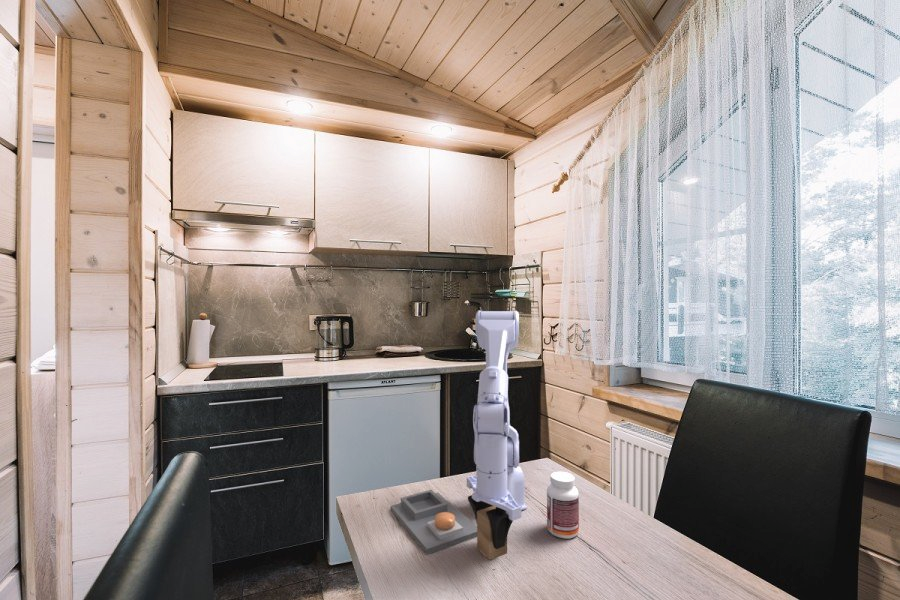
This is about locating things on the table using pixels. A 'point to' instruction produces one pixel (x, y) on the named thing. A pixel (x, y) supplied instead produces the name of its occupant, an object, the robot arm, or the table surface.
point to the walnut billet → (487, 536)
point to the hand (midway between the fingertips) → (492, 540)
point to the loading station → (432, 521)
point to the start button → (444, 520)
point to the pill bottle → (562, 506)
